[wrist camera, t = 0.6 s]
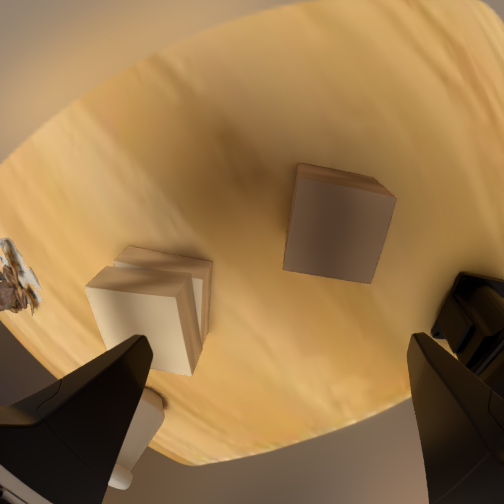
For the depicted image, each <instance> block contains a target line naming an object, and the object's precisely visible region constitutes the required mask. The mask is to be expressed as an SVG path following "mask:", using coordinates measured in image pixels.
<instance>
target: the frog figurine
mask: <svg viewBox="0 0 504 504" xmlns="http://www.w3.org/2000/svg"><path fill="white" fill-rule="evenodd" d="M0 247H1V248H2V251H3V252H4V255H5V258H4V257H3V256H2V255H0V259H1V262H2V267H3V274H4V276H3V274H2V273H1V272H0V280H2V281H3V282H0V311H4V310H10V311H11V312H13V313H18V311H22V308H24V309H26V308H27V304H28V303H29V304H30V305H31V311H32V316H33V313H34V308H35V307H36V308H37V306H38V303H40V302H41V300H42V298H41V297H40V295H39V294H38V293H37V292H36V290H35V289H34V292H33V293H29V292H28V291H27V289H26V288H25V284H26V282H28V283H30V284H34V285H35V286H36V287H37V288H38V289H39V290H41V287H40V285H39V282H38V280H37V278H36V276H35V274H34V272H33V271H32V269H31V268H30V269H29V270H28V269H27V267H26V264H25V263H23V259H22V255H21V254H20V252H19V251H18V250H17V248H16V246H15V245H14V243H13V241H12V240H11V239H10V238H0ZM5 278H6V279H5ZM17 299H18V300H17ZM13 305H14V306H13Z"/></svg>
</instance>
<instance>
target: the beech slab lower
mask: <svg viewBox="0 0 504 504" xmlns="http://www.w3.org/2000/svg"><path fill="white" fill-rule="evenodd" d="M113 263H114V267H122V268H134V269H147V270H160V271H174V272H189V273H191V275H192V283H193V290H194V297H195V304H196V311H197V318H198V324H199V331H200V337H201V343H202V346H203V344H204V341H205V339H206V336H207V334H208V325H209V306H210V289H211V274H212V262H209V261H204V260H199V259H193V258H188V257H183V256H178V255H173V254H167V253H162V252H157V251H152V250H147V249H142V248H137V247H132V246H129V247H128V248H127V249H125V250H124V251H123V252H122V253H121V254H120V255H119V256H118V257H117V258H115V259H114V260H113Z"/></svg>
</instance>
